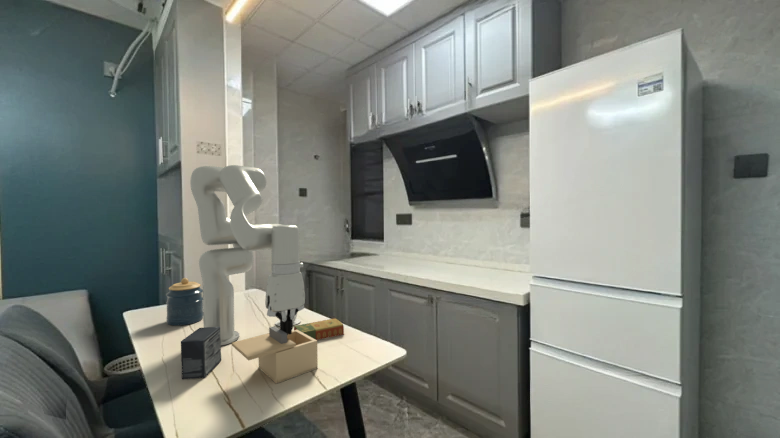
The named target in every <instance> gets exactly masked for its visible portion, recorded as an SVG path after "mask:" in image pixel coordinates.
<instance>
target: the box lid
mask: <svg viewBox="0 0 780 438" xmlns="http://www.w3.org/2000/svg"><path fill="white" fill-rule="evenodd" d="M295 346H296V343H295V342H293V341H291V340H290V339H288V338H287V333H285V332H284V331H282V330H280V328H278V327H277V326H276V325H273V326H270V327H268V333H264V334H260V335H257V336H253V337H249V338H245V339H240V340H236V341H234V342H232V343H231V347H233V348H234V349H235V350H236V352H238V353H239V354H240V355H242V356H243V357H244V358H245V359H246V360H248V361H251V360H256V359H258V358H259V357H262V356H265V355H269V354H272V353H275V352H279V351H282V350H285V349H289V348H292V347H295Z"/></svg>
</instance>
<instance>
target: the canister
mask: <svg viewBox="0 0 780 438" xmlns="http://www.w3.org/2000/svg"><path fill="white" fill-rule="evenodd" d="M201 286H202V285H201V284H200V283H199V282H197V281H190V280H189V278H187V277H183V278H181V281H180V282H177V283H174V284H172V285H171V286H169V287H168V290H169V291H168V292H166V293H165V296H166V297H167V301H166V302H165V304H166V322H167V323H166V324H167V325H168V326H186V325H190V324H195V323H197V322H200V321H203V288H201Z"/></svg>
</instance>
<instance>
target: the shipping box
mask: <svg viewBox="0 0 780 438" xmlns="http://www.w3.org/2000/svg"><path fill="white" fill-rule="evenodd" d="M287 338H288V339H290V340H291V341H293V342H295V343H296V346H295V347H292V348H289V349H285V350H282V351H279V352H275V353H272V354H269V355H265V356H262V357H259V358H257V360H258V369H259V370H260V371H261V372H263V373H264V374H265V375H266V376H267V377H268V378H270V380H272V381H273V383H275V384H279V383H280V384H281V383H282V382H284V381H288V380H291V379H293V378H296V377H298V376H301V375H304V374H306V373H310V372H313V371H314V370H318V368H319V367H318V340H315V339H314V338H312V337H310V336H308V335H306V334H304V333H303V332H301V331H299V330H294V329H293V330H292V334H288V335H287Z"/></svg>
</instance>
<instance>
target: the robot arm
mask: <svg viewBox="0 0 780 438" xmlns="http://www.w3.org/2000/svg"><path fill="white" fill-rule="evenodd" d="M266 185H267V177H266V175H265V173H264V172H263V171H262V170H261V169H260V168H258V167H253V166H246V165H237V164H233V165H227V166H225V167H220V166H213V165H212V166H211V165H209V166H206V165H205V166H199V167H196V168H195V169H193V171H192V173H191V176H190V189H191V192H192V193H191V194H192V197H193V199H194V201H195V203H196V204H195V205H196V207H197V214H198V223H199V230H200V237H201V240H202V243H204V244H205V245H207V246H223V245H224V246H225V245H232V247H226V248H225V247H224V248H216V249H209V250H207V251H205V252H203V253H202V254H201V255H200V257H199V260H198V267H199V272H200V276H201V282H202V289H203V292H202V297H203V319H202V321H203V322H202V323H203V328H205V327H220V339H221V346H225V345H229V344H232V342H236V341H238V339H239V338H240V332H239V331H236V330H235V289H234V285H233V284H232V282H231V281H230V280H229V279H228V277H227V276H232V275H236V274H237V275H238V274H244V273H247V272H249V271H250V270H252V268H253V266H254V252H257V251H258V252H259V251H265V250H271V273H270V274H268V276H267V281H266V288H265V299H264V301H265V309H267V310H266V315H267V316H268V317H270V318H271V317H272V318H273V317H275V318H277V319H278V320H279V319H280V326H279V327H280V328H279V329H280V330H282V331H284V332H285V333H287V335H288V334H292V331H293V330H294V325H293V319H294V317H295V315H296V314H297V315H298V312H300V311H302V310H304V309H305V302H306V301H305V299H306V293H305V291H306V290H305V283H304V277H303V273H302V272H301V269H302V268H304V263H303V262H301V261H300V229H299V227H298V226H297V225H293V224H281V223H255V224H253V223H252V224H251V223H250V222H249V220H248V219H247V217H246V216H247V215H249V214H251V213H253V212H255V211H257V210H258V209H259V208H260V207H261V205H262V202H263V196H262V195H261V192H262V191H264V189H265V188H266ZM216 192H221V193H226V194H227V196H228V198H229V200H230V201H231V203H232V205H233V206H234V207H233V208H232V210H231V214H230V215H229V217H227V212H226V206H225V203H224V201H223V200H222V199H221V198H220V197H219V195H218V194H216ZM285 310H287V312H285Z"/></svg>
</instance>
